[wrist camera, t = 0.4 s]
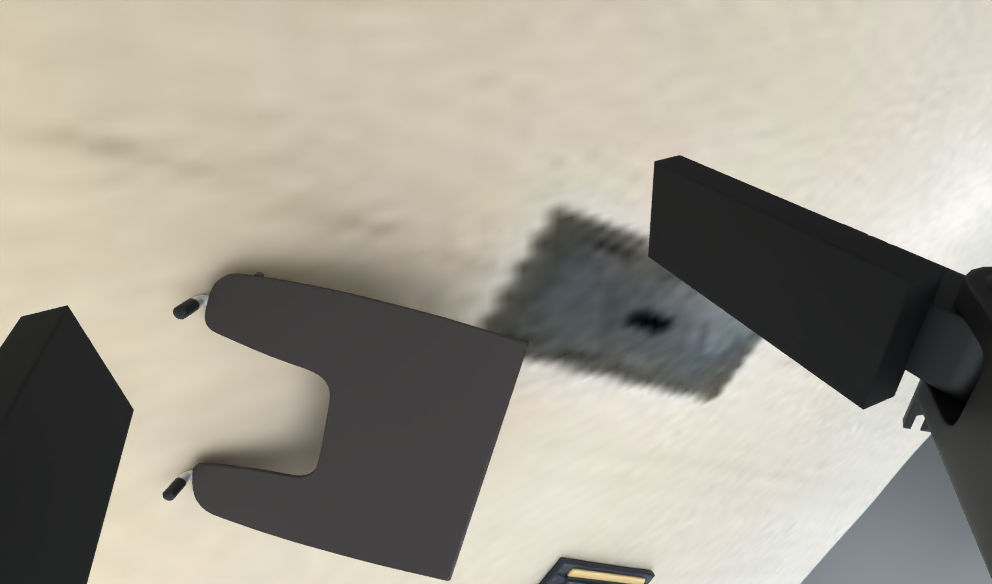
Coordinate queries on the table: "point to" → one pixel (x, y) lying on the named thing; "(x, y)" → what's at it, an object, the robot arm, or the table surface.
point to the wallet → (594, 574)
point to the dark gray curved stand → (366, 422)
